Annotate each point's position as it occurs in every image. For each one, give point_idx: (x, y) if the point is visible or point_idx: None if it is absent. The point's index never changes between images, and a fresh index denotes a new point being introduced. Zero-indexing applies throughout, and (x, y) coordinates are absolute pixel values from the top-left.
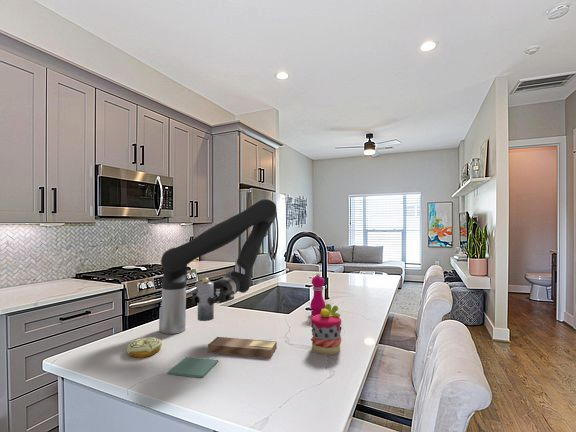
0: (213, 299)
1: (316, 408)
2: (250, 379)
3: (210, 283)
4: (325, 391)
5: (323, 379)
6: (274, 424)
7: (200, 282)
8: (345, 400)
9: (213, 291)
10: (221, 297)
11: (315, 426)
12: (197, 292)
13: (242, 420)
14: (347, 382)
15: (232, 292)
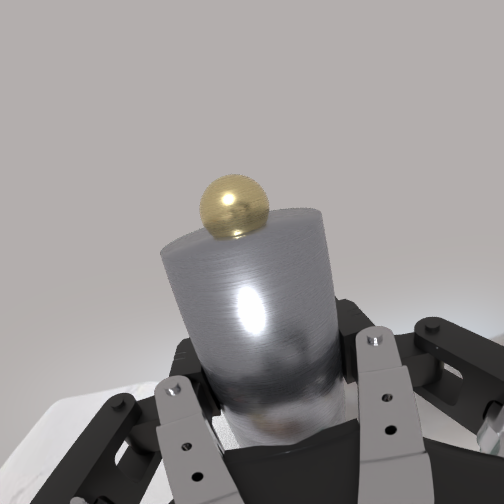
0: (186, 341)
1: (64, 422)
2: (153, 486)
3: (183, 239)
4: (40, 455)
5: (30, 486)
6: (116, 391)
7: (308, 215)
8: (30, 437)
9: (187, 330)
10: (145, 405)
11: (77, 397)
12: (477, 376)
13: (153, 388)
14: (7, 474)
15: (45, 490)
